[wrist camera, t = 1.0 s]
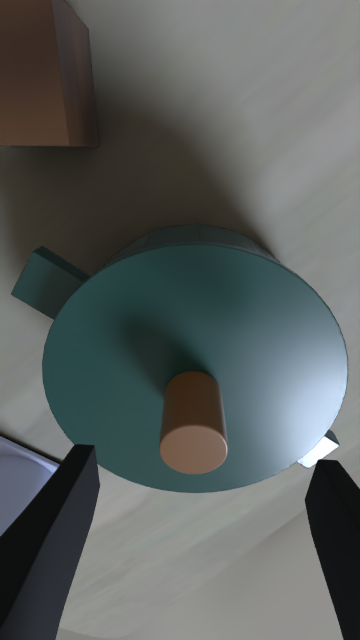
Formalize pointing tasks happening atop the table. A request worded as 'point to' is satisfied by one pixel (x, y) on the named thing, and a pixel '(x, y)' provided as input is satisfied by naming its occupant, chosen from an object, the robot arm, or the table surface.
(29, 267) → the pot
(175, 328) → the lid
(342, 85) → the table surface
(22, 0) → the block
